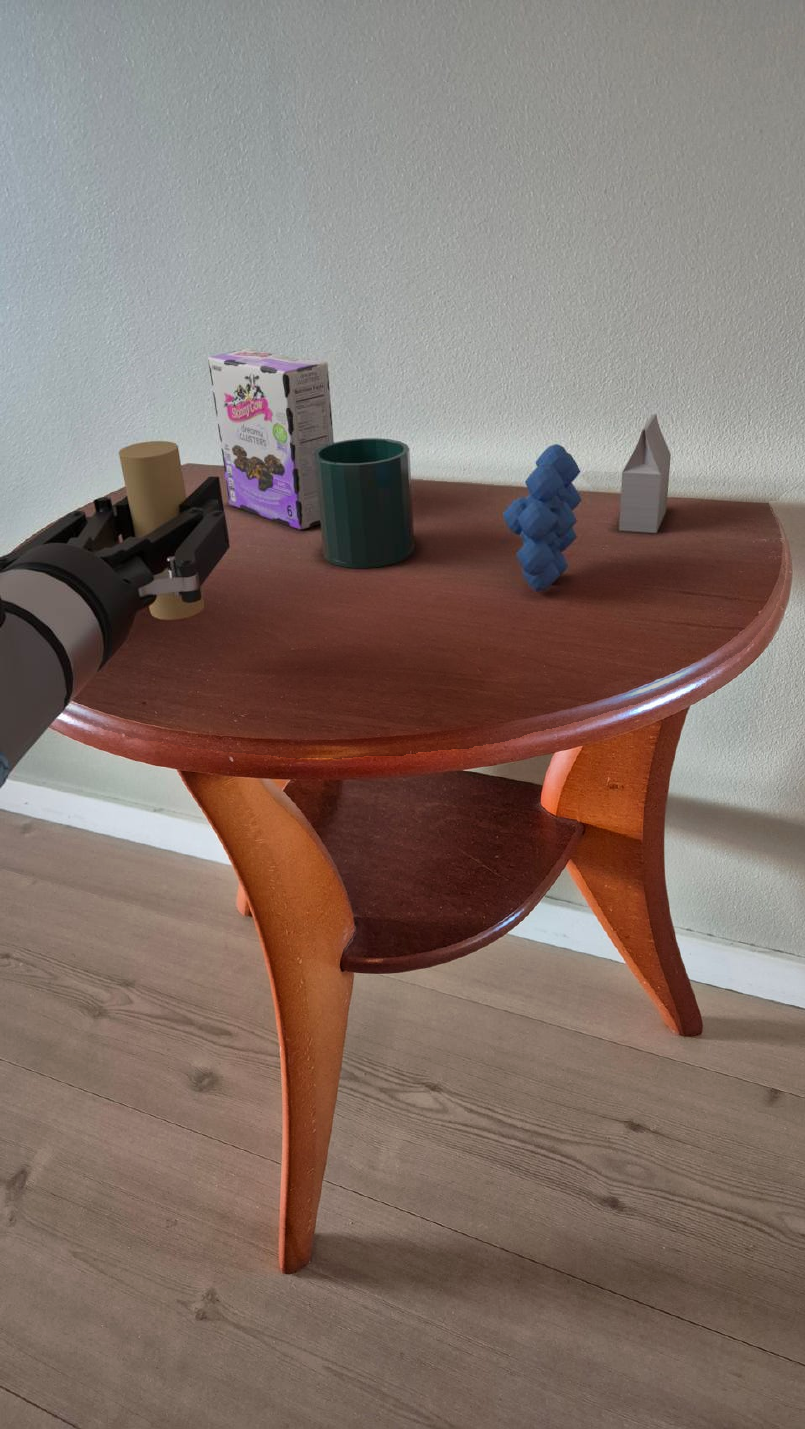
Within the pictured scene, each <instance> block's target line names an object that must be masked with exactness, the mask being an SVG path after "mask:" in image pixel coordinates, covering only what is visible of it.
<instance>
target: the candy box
mask: <svg viewBox="0 0 805 1429" xmlns="http://www.w3.org/2000/svg"><path fill="white" fill-rule="evenodd" d="M207 361H208V368H209V374H210V382H211V389H212V396H213V401H214V409H215V415H216V422H217V429H218V435H219V442H220V448H221V454H222V463H223V469H224V476H225V483H226V489H227V498H228V504H229V505H230V506H232V507H235V508H238V509H242V510H244V511H247V512H249V513H251V514H252V513H253V514H255V515H258V516H260V517H264V518H266V519H269V520H272V521H275V522H277V523H280V524H284V525H286V526H289V527H292V528H294V529H297V530H300V531H301V530H305V529H309V528H312V527H314V526H318V525H320V516H319V506H318V496H317V486H316V477H315V467H314V457H313V454H314V452H315V451H316V450H317V449H319V448H321V447H323V446H325V445H328V444H331V443H335V439H334V427H333V415H332V414H333V413H332V403H331V402H332V401H331V390H330V378H329V363H328V361H323V360H314V359H313V360H312V359H307V358H299V357H294V356H289V355H284V354H279V353H278V354H276V353H273V352H266V351H261V350H256V349H254V348H245V349H244V348H243V349H239V350H234V351H229V352H226V353H221V354H217V355H216V354H215V355H211V356H208V357H207Z"/></svg>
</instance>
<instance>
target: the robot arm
mask: <svg viewBox="0 0 805 1429" xmlns="http://www.w3.org/2000/svg"><path fill="white" fill-rule="evenodd" d="M186 497H187V498H186V499H185V500H184V501H183V502H182V503H181V504H180V505H179V508H180V514H179V515H178V516H176V517H175V518H173V519H171V520H170V521H168V522H167V523H165V524H163V525H162V526H160V527H158V528H157V529H155V530H154V531H152V532H150V533H149V534H147V535H146V536H144V537H142V538H137V537H135V532H134V527H133V522H132V517H131V512H130V507H129V502H128V497H127V495H126V496H125V497H123V498H122V499H121V500H118V501H116V502H115V503H114V504H113V502H112V498H111V497H105V496H104V497H97V498H95V499H93V506H94V509H95V511H94V513H93V514H92V516H87V514H86V512H85V511H84V510H73V511H71V512H69V513H67V514H65V515H64V516H63V517H62V518H60V519H59V520H58V521H56V522H54V523H53V524H52V525H50V526H49V527H47V528H46V529H45V530H43V531H41V532H40V533H39V534H38V535H36V536H34V537H32V539H31V540H29V541H28V542H26V543H25V544H24V545H22V546H21V547H19V548H18V549H16V550H13V551H11V552H9V553H7V554H4V555H2V556H0V789H1V788H2V787H3V786H4V785H5V784H6V782H7V780H8V778H9V775H10V774H11V773H12V771H13V770H14V768H15V767H16V766H17V765H18V764H19V763H20V761H21V760H22V759H23V758H24V757H25V756H26V754H27V753H28V752H29V751H30V749H32V748H33V746H34V745H35V744H36V743H37V741H38V740H39V739H40V738H41V737H42V736H43V734H44V733H45V732H46V731H47V730H48V729H49V727H51V725H52V724H53V723H54V722H55V720H57V718H59V717H60V715H62V713H63V712H64V711H65V710H66V708H67V707H68V706H69V705H70V704H71V702H72V701H73V700H74V699H75V698H76V697H77V696H78V695H79V694H80V692H81V691H82V690H83V689H84V688H85V687H86V685H87V684H89V682H90V681H91V680H92V679H93V678H94V677H95V676H96V674H97V673H98V672H100V670H102V669H103V667H105V665H106V664H107V663H108V662H109V661H110V660H111V658H112V657H113V656H114V655H115V654H116V653H117V652H118V651H119V650H120V648H121V647H122V646H123V645H124V643H125V642H126V640H127V639H128V637H129V634H130V632H131V629H132V626H133V624H134V621H135V618H136V615H137V613H138V612H140V611H141V610H142V611H143V609H146V608H149V606H150V605H151V604H153V603H154V602H155V600H156V598H157V595H159V594H167V593H173V595H175V596H180V595H181V597H182V601H183V602H186V603H193V602H197V601H199V600H201V598H202V596H201V589H200V587H202V586H203V584H204V583H205V582H206V580H207V579H208V578H209V576H210V574H212V572H213V571H214V569H215V568H216V567H217V565H218V564H219V563H220V561H221V560H222V559H223V557H224V555H225V554H226V553H227V551H228V550H230V548H231V545H230V538H229V531H228V524H227V518H226V512H225V508H224V507H225V506H224V500H223V494H222V488H221V481H220V477H219V476H208V477H207V478H206V479H205V480H204V481H203V482H202V483H201V484H200V485H199V486H198V487H197V488H195V490H193V491H192V493H190V494H189V495H188V496H186ZM120 536H121V539H122V541H121V540H120Z"/></svg>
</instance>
